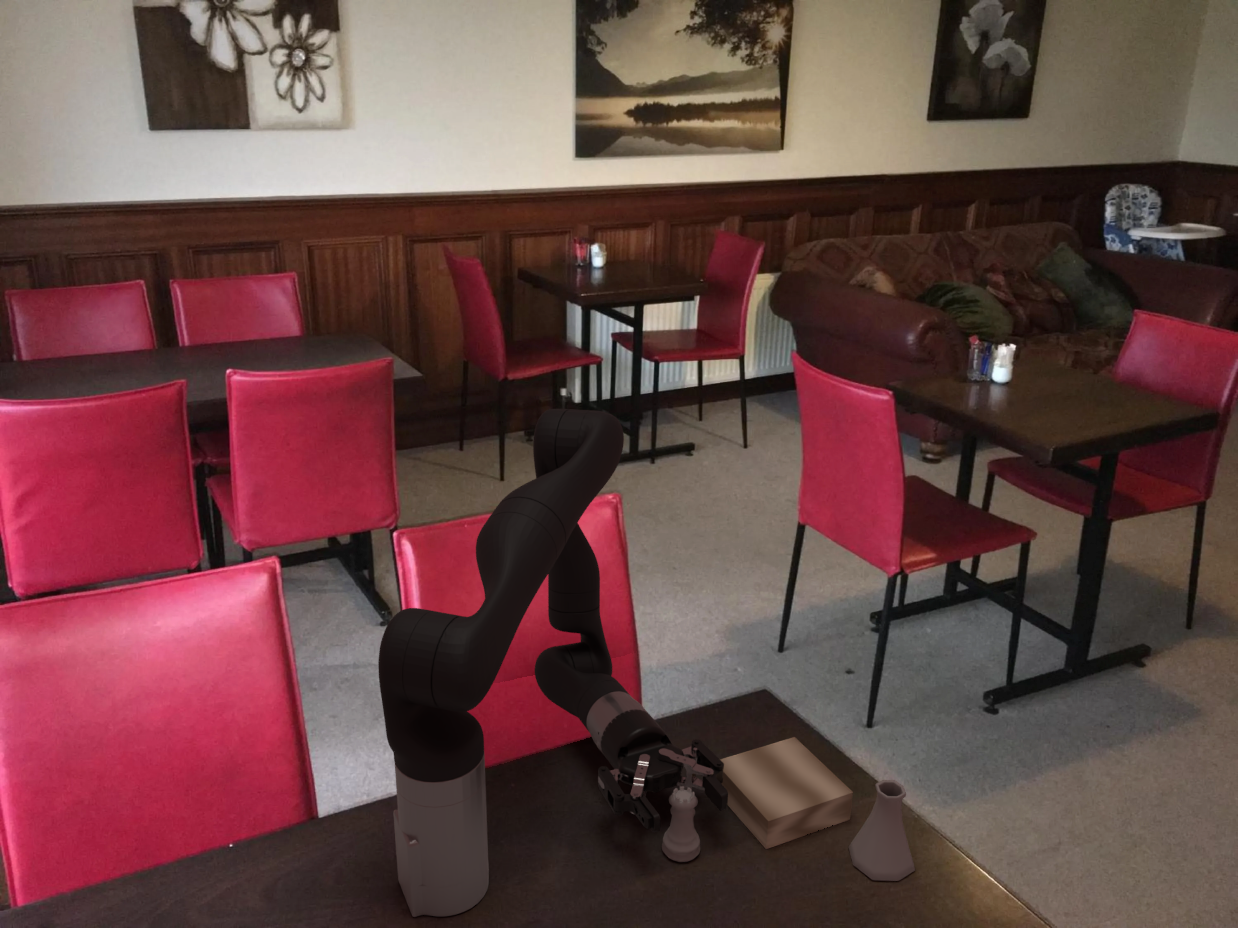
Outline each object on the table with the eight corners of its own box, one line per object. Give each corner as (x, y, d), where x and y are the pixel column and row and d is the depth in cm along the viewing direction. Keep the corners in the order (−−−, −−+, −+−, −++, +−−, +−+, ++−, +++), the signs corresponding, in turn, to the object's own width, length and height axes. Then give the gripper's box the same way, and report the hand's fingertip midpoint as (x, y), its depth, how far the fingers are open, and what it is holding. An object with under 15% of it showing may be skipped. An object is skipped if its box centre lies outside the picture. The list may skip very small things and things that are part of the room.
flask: (837, 845, 120) (845, 774, 116) (892, 833, 122) (901, 762, 118) (869, 889, 113) (879, 815, 110) (926, 875, 115) (937, 803, 112)
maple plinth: (766, 849, 119) (768, 820, 118) (712, 787, 129) (714, 761, 128) (849, 819, 124) (853, 792, 122) (792, 762, 134) (794, 736, 133)
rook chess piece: (700, 838, 120) (703, 782, 118) (699, 865, 116) (703, 807, 113) (662, 835, 121) (664, 778, 118) (660, 862, 117) (662, 804, 114)
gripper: (574, 723, 124) (635, 804, 110) (678, 695, 130) (747, 769, 116) (574, 774, 127) (633, 860, 113) (675, 745, 133) (743, 823, 119)
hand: (691, 814), depth 115 cm, fingers open, 8 cm apart
